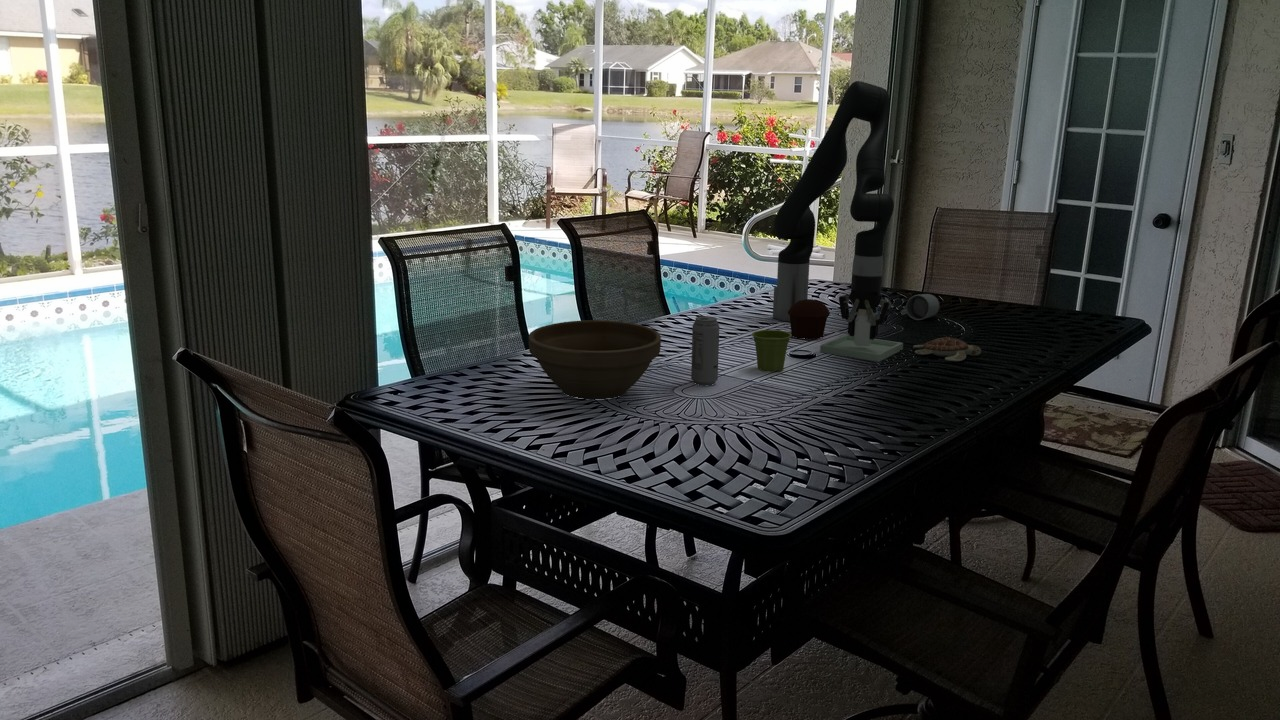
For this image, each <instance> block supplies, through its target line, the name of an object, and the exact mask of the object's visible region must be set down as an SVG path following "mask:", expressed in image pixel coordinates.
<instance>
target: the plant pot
mask: <svg viewBox="0 0 1280 720" xmlns="http://www.w3.org/2000/svg"><path fill="white" fill-rule="evenodd" d="M751 336H752V337H753V341H754V344H755V351H756V353H755V354H756V362H757V363H756V364H757V369H758V370H760V371H762V372H768V373H775V372H776V371H778V372H781V371H783V370H784V368H785V367H784V366H785V360H786V355H787V349H788V345H789V343H790V339H791V338H792V337H793V336H792V335H791V332H787V331H783V330H775V329H774V330H773V329H767V330H766V329H762V330H756V331H754V332H752V333H751Z"/></svg>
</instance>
